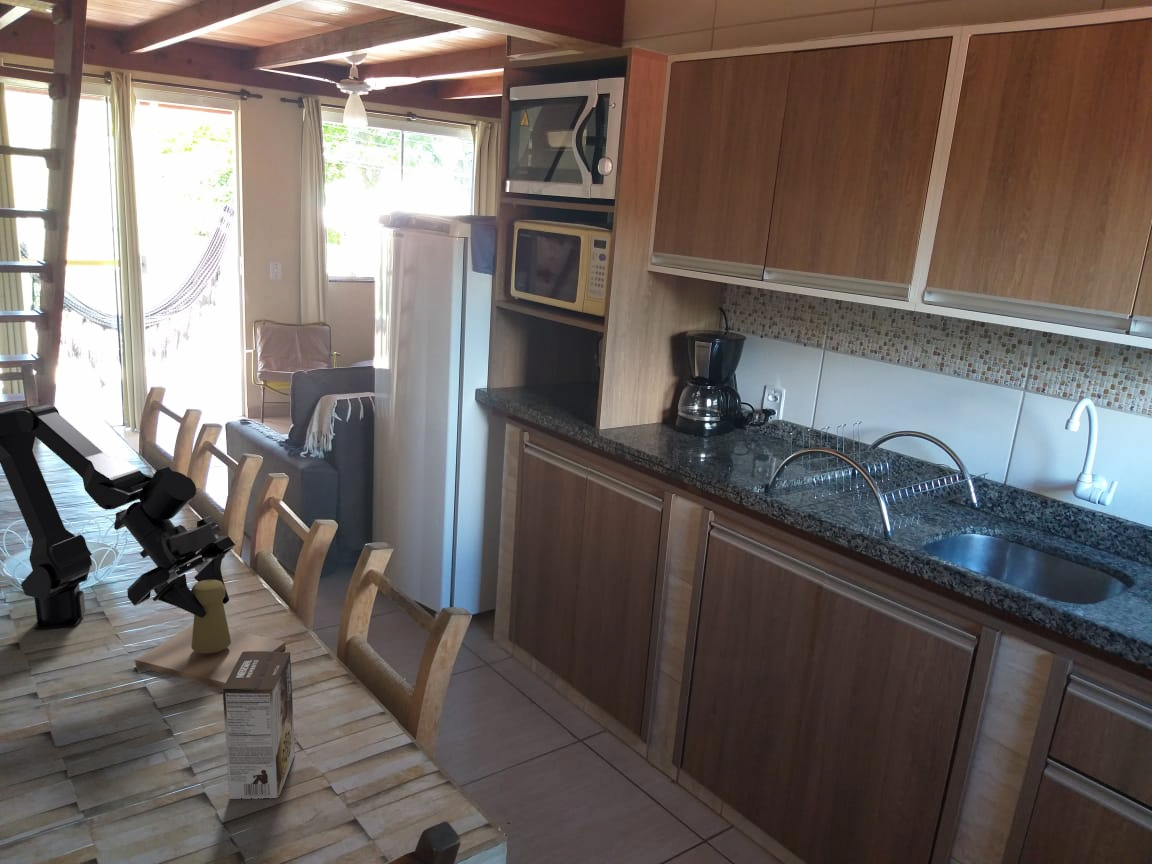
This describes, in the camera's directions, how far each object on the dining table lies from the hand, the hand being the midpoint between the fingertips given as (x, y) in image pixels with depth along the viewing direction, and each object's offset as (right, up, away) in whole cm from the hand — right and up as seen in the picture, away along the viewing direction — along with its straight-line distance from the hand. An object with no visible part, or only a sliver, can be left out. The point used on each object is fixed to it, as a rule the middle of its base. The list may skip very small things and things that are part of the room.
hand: (215, 609), depth 136 cm
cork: (-2, -6, +2) cm, 7 cm away
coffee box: (+17, -17, -25) cm, 35 cm away
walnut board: (-2, -9, +3) cm, 9 cm away
